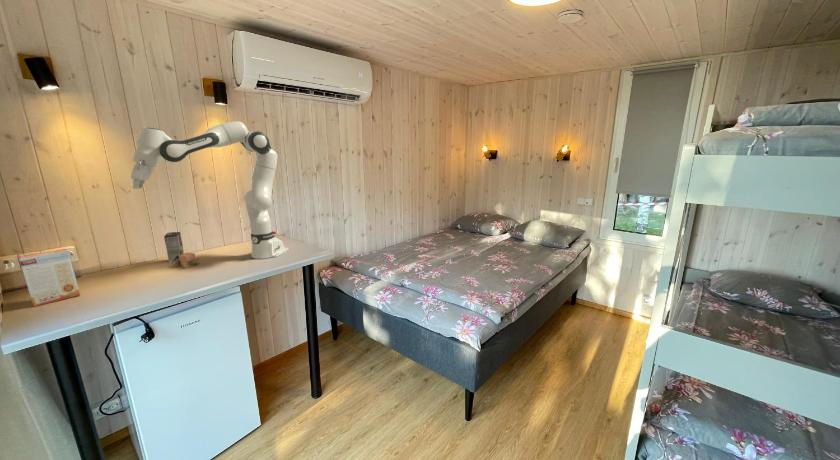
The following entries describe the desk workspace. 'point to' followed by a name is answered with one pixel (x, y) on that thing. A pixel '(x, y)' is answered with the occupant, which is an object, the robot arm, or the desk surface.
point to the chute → (186, 264)
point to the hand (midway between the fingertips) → (137, 188)
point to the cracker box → (49, 276)
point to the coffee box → (173, 246)
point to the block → (186, 257)
